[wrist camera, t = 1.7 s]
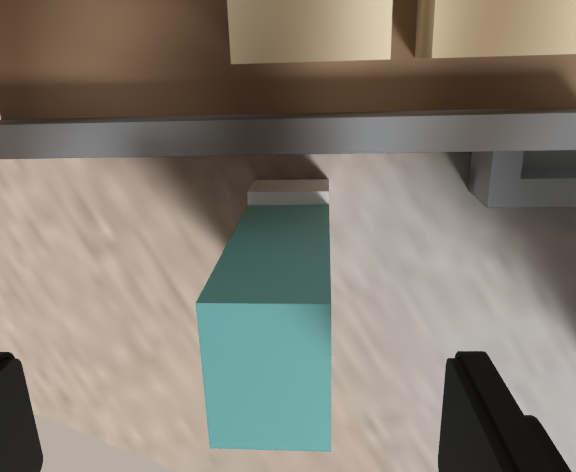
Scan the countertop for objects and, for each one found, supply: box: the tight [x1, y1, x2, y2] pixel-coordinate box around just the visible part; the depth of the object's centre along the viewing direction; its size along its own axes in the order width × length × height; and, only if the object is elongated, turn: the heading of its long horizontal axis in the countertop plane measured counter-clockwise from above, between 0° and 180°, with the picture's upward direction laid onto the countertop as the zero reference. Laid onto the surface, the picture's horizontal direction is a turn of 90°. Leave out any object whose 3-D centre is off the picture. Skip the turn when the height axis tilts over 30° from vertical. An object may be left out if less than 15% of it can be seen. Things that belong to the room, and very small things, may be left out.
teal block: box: [196, 179, 331, 452], centre depth 17 cm, size 3×5×10 cm, turn 2°
